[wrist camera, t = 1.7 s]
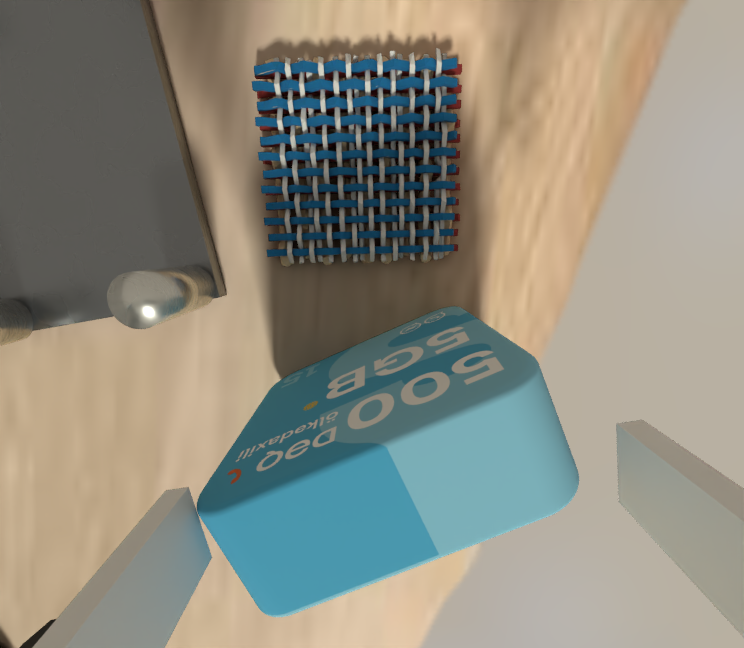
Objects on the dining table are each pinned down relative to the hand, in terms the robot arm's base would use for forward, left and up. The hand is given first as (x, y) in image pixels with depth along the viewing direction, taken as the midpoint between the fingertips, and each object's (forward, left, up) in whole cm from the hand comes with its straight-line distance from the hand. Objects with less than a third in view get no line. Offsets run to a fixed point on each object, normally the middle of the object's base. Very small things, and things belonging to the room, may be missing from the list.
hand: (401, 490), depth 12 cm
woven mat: (+1, +12, -12) cm, 17 cm away
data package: (-1, 0, -11) cm, 11 cm away
